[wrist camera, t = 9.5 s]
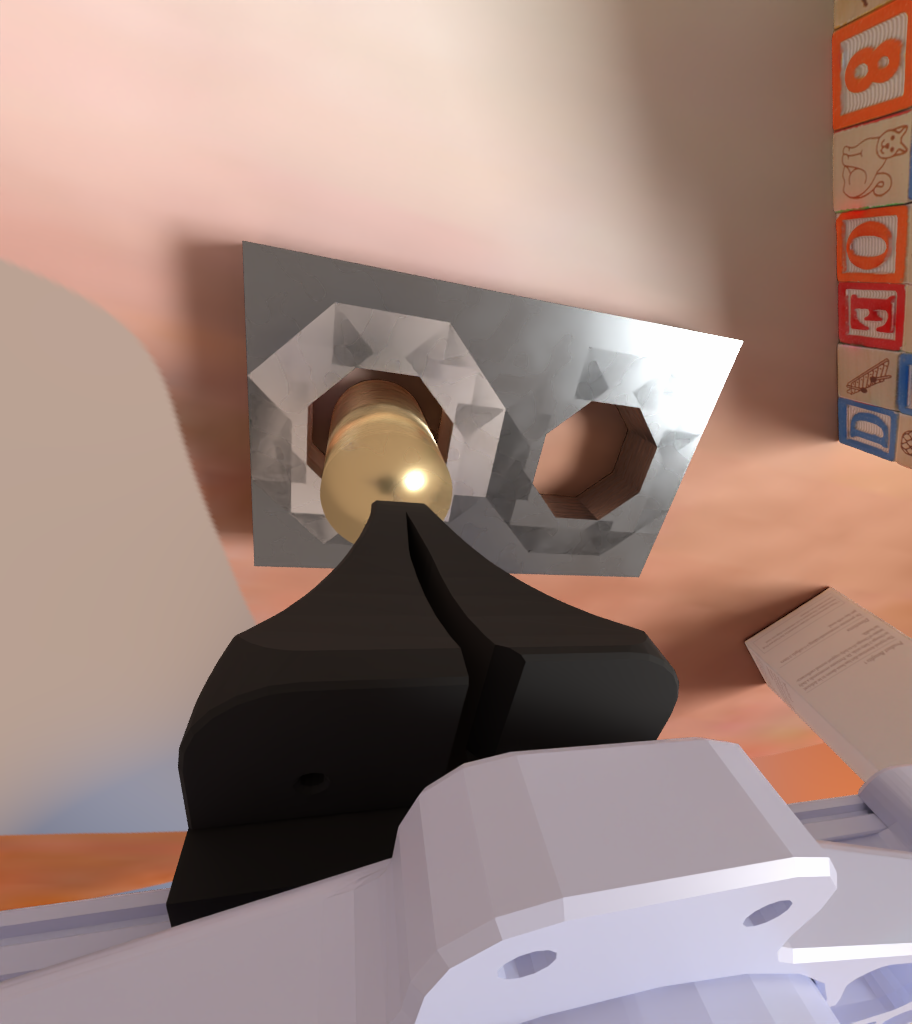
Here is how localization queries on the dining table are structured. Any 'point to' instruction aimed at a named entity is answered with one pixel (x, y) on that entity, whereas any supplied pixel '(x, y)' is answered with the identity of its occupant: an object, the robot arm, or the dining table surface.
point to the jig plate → (472, 408)
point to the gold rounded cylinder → (380, 457)
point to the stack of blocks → (874, 223)
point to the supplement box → (843, 679)
